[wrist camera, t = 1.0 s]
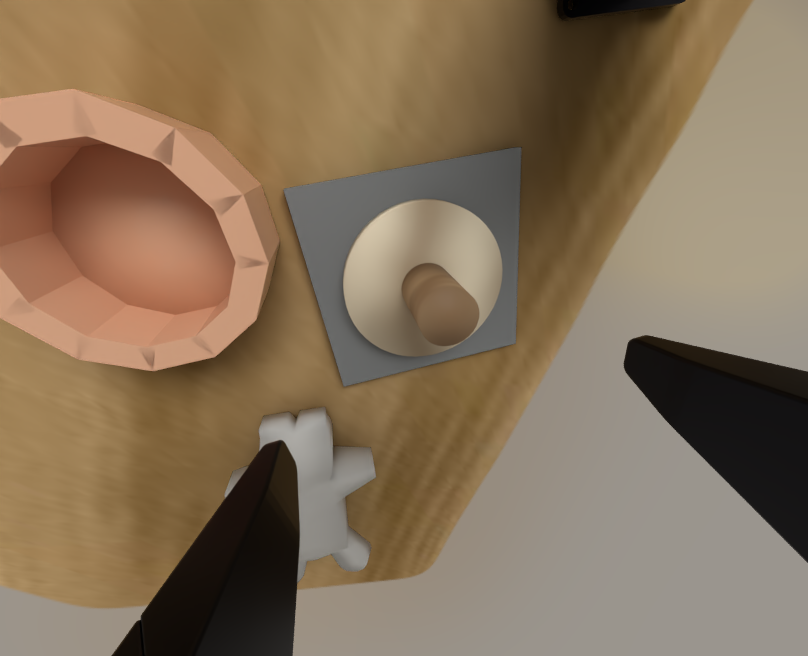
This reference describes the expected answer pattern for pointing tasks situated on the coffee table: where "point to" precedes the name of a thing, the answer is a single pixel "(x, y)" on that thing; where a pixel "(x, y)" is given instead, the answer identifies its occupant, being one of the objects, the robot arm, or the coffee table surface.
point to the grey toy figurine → (321, 485)
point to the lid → (422, 277)
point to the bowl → (127, 232)
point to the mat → (372, 194)
